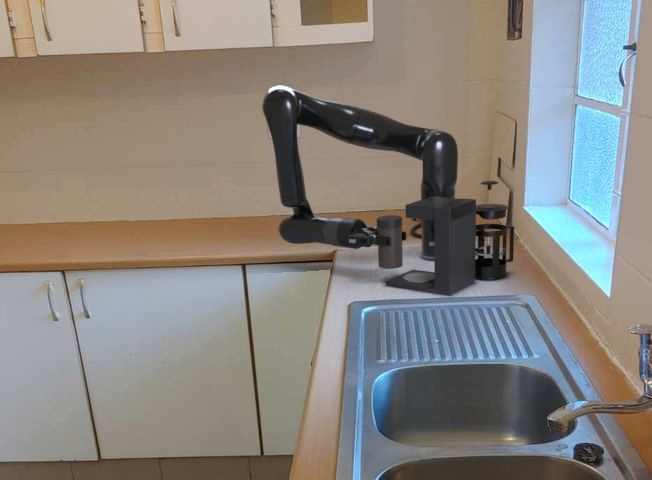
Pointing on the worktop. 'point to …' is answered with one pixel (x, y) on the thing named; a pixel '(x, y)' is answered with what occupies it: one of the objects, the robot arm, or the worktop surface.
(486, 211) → the french press
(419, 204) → the coffee maker
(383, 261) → the brown travel mug
